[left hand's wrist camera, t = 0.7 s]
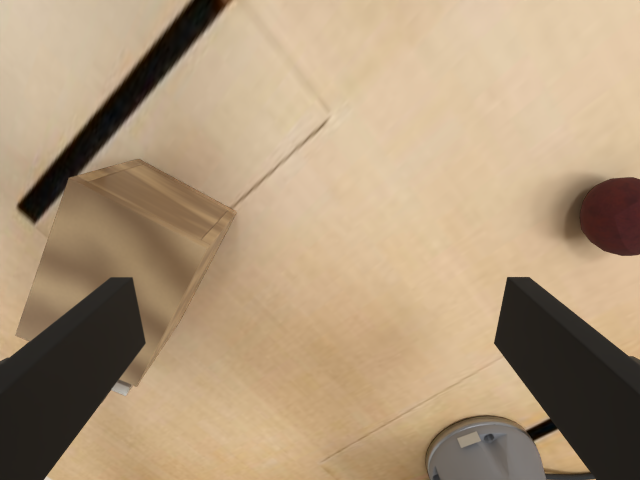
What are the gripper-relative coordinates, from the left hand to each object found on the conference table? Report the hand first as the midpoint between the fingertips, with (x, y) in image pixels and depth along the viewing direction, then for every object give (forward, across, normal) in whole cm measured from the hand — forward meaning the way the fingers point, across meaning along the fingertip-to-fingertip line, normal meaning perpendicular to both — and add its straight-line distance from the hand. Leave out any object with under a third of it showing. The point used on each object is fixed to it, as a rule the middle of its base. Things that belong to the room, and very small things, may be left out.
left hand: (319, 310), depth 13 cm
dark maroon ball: (+26, +30, -3) cm, 40 cm away
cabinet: (+26, -18, -8) cm, 33 cm away
